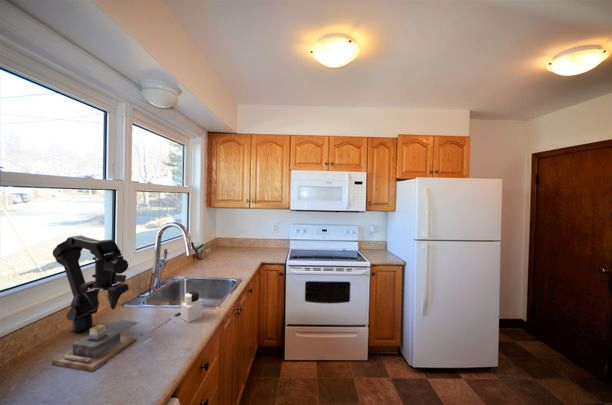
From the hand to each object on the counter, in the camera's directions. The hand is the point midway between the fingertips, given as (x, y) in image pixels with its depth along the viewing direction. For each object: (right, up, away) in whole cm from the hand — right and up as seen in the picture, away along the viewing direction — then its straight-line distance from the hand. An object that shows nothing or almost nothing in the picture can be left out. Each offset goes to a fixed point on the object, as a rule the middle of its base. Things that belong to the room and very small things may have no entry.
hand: (104, 308), depth 101 cm
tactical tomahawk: (+20, -13, +9) cm, 26 cm away
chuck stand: (+6, -12, -10) cm, 17 cm away
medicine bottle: (+29, -12, +17) cm, 35 cm away
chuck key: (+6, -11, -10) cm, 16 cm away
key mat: (+1, -12, +7) cm, 14 cm away
